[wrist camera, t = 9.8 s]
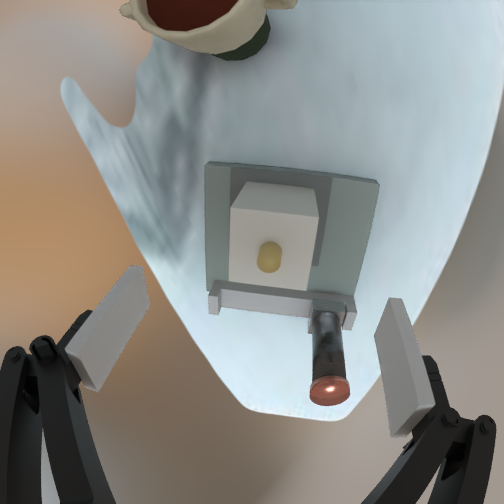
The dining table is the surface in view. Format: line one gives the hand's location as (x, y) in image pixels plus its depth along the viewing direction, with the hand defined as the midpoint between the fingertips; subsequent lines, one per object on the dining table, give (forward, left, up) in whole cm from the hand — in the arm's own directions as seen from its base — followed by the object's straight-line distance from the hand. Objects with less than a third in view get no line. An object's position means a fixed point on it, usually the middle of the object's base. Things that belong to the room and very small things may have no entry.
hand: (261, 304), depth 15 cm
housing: (+1, 0, -14) cm, 14 cm away
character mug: (-17, -5, -16) cm, 23 cm away
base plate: (+3, +1, -16) cm, 16 cm away
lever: (+10, +6, -12) cm, 17 cm away
